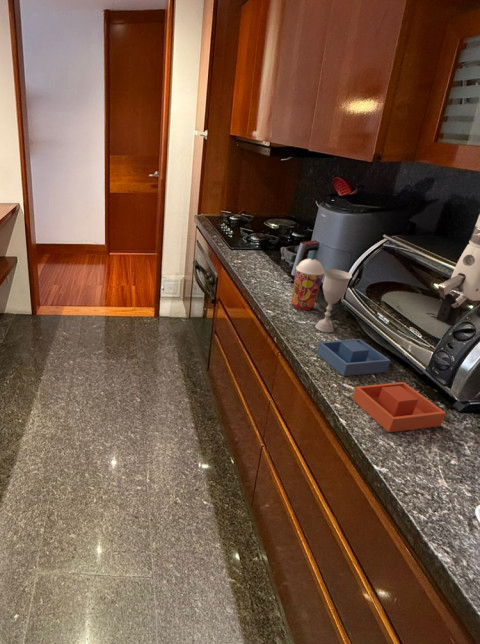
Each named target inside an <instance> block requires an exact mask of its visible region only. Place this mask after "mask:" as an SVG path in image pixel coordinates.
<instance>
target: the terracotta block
mask: <svg viewBox="0 0 480 644" xmlns="http://www.w3.org/2000/svg"><path fill="white" fill-rule="evenodd" d="M417 402H418V399H417V398H416V397H415V396H413V395H412V394H411V393H409V392H408V391H407V390H405V389H404V388H403V387H401V386H393V387H384V388H382V390H381V393H380V396H379V399H378V402H377V403H378V404H379V405H380V406H381V407H383V408H384V409H385V410H386V411H387V412H388V413H390V414H391V415H392V416H393V417H398V416H407V415H412V414H413V412H414V409H415V407H416V404H417Z"/></svg>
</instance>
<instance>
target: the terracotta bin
mask: <svg viewBox="0 0 480 644" xmlns="http://www.w3.org/2000/svg"><path fill="white" fill-rule="evenodd" d="M393 386H401V387H403V388H404V389H405V390H407V391H408V392H409V393H411V394H412V395H413V396H415V397H416V398H417V399H418V402H417V404H416V407H415V409H414V412H413V414H412V415H407V416H398V417H393V416H392V415H391V414H390V413H388V412H387V411H386V410H385V409H384V408H383V407H381V406H380V405H379V404H378V403H377V402H378V399H379V396H380V393H381V390H382V388H384V387H393ZM351 399H352V400H353V401H354V403H356V404H357V405H358V406H359V407H360V408H361V409H363V411H365V412H366V413H367V414H368V415H369V416H370V417H371V418H372V419H373V420H375V422H377V423H378V424H379V425H380V426H381V427H382V428H383V429H384V430H385V431H387V433H394V432H395V433H396V432H404V431H412V430H420V429H427V428H429V429H430V428H435V427H437V428H438V427H441V426H442V424H443V422H444V420H445V417H446V415H447V413H446V411H444V410H443V409H441V408H440V407H438V406H437V405H436V404H435V403H433V402H431V401H430V400H429V399H428V398H427V397H425V396H424V395H422V394H421V393H420V392H418V391H417V390H416V389H414V388H412V386H410V385H409V384H407V383H406V382H405V381H400V382H399V381H397V382H389V383H380V384H378V383H377V384H370V385H360V386H355V388H354V391H353V395H352V398H351Z"/></svg>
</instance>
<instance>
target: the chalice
mask: <svg viewBox="0 0 480 644" xmlns="http://www.w3.org/2000/svg"><path fill="white" fill-rule="evenodd" d="M352 277H353V275H352V274H350V273H349V272H347V271H344V270H341V269H335V268H334V269H332V268H329V269H324V279H323V283H322V291H323V295H324V296H323V297H324V300H325V302H326V303H327V306H326V307H325V308H326V312H324V315H325V316H324V318H322V319H320V320H318V322H316V324H315V325H314V327H315V329H316V330H318V331H320V332H323V333H333V332H335V331H334V330H335V329H334V326H333V322H332V321H331V320H330V319H329V318H330V316H332V314H331V311H332V310H333V308H332V307H333V305H334V304H337V303H338V302H339V301H340V300H341V299H342V298H343V296H344V295H345V293H346V292H347V289H348V285H349V281H350V280H351V279H352Z"/></svg>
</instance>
